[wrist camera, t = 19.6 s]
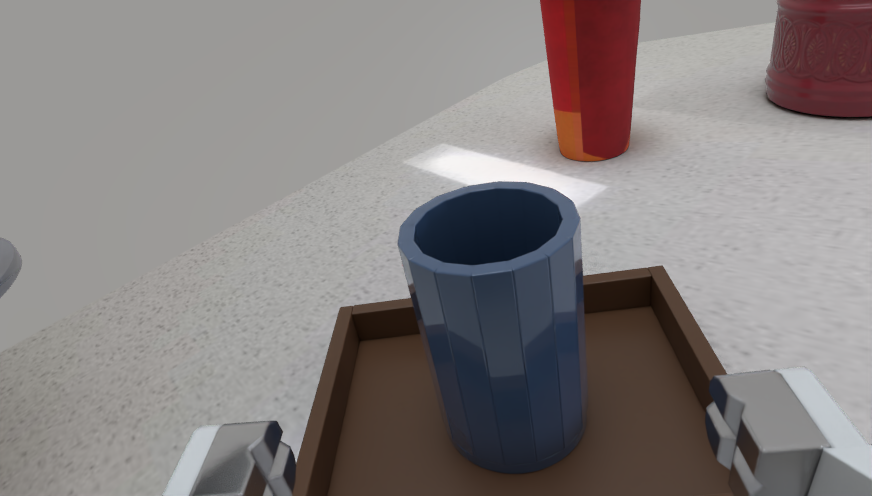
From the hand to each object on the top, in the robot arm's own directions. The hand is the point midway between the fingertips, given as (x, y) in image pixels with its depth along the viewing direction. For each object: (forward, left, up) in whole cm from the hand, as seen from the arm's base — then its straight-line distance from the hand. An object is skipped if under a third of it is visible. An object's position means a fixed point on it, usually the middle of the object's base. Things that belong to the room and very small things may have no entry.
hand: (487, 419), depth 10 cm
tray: (0, +10, -12) cm, 15 cm away
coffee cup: (+10, +39, -12) cm, 42 cm away
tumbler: (0, +10, -11) cm, 15 cm away
